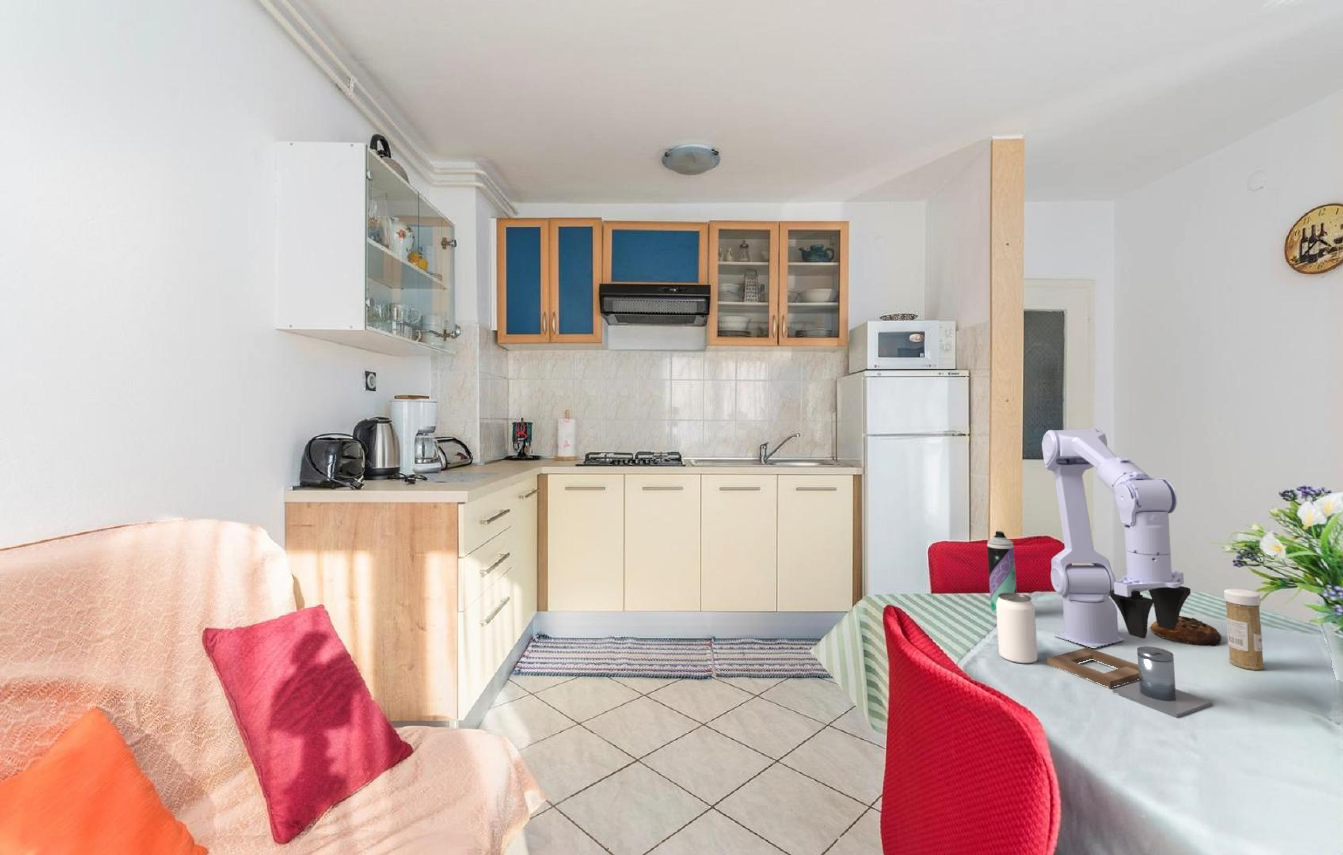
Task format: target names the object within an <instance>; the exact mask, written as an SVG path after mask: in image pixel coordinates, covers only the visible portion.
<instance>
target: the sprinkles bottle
mask: <svg viewBox="0 0 1343 855" xmlns="http://www.w3.org/2000/svg"><path fill="white" fill-rule="evenodd" d="M1223 592H1224V594H1223V595H1224V597H1223V598H1224V601H1225V603H1226V604H1225V606H1226V607H1225V608H1226V630H1227V631H1226V632H1227V643H1228V649H1229V659H1228V661H1229V663H1230V664H1231V665H1233V666H1235V667H1238V668H1242V669H1244V670H1245V669H1246V670H1252V671H1260V670H1264V669H1265V664H1264V657H1263V655H1264V654H1263V648H1264V647H1263V639H1262V638H1263V637H1262V625H1261V618H1260V616H1261V615H1260V605H1261V595H1260V594H1259V593H1258V592H1255V591H1252V590H1248V589H1247V590H1246V589H1241V588H1239V589H1238V588H1227V589H1224V591H1223Z"/></svg>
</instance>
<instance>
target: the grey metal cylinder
mask: <svg viewBox="0 0 1343 855" xmlns="http://www.w3.org/2000/svg"><path fill="white" fill-rule="evenodd" d="M1136 654H1137V664H1138V670H1139V680H1138V682H1139V685H1140V692H1141V693H1142V694H1143V695H1145V696H1147V697H1150V698H1153V699H1157V700H1162V701H1173V700H1175V699H1176V689H1177V688H1176V676H1175V658H1174V654H1173V652H1171V651H1169V650H1167V649H1164V648H1160V647H1155V646H1148V645H1147V646H1146V645H1145V646H1139V647H1137V648H1136Z"/></svg>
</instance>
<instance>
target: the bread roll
mask: <svg viewBox="0 0 1343 855" xmlns="http://www.w3.org/2000/svg"><path fill="white" fill-rule="evenodd" d="M1149 629H1150V630H1151V631H1152V632H1153V633H1154V634H1155V635H1156V634H1157V636H1158V637H1161V638H1162V637H1164V638H1163V639H1165V638H1166V639H1165V640H1171V641H1175V642H1178V643H1183V644H1188V645H1190V644H1191V645H1192V646H1201V647H1202V646H1206V647H1207V646H1208V647H1215V646H1219V645H1220V643H1221V641H1222V635H1221V633H1220V632H1219V631H1218V629H1216V628H1215V627H1214V626H1211V625H1210V624H1208V623H1204V622H1203V621H1201V620H1198V619H1197V618H1195V617H1188V616H1183V615H1182V616H1181V615H1179V617H1178V621H1177V625H1176V628H1175V630H1169V629H1166V628H1162V627H1159V626H1158V624H1157V620H1155V621H1153V622H1152V623H1151V626H1149Z"/></svg>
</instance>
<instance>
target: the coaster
mask: <svg viewBox="0 0 1343 855" xmlns="http://www.w3.org/2000/svg"><path fill="white" fill-rule="evenodd" d="M1113 692H1114V693H1113ZM1112 693H1113V694H1115V693H1118V694H1119V695H1118V694H1117V695H1118V696H1120V695H1121V697H1123V698H1125V697H1127V698H1126V699H1128V698H1129V699H1128V700H1131V701H1134V702H1136V701H1137V702H1136V703H1139V704H1141V705H1144V706H1147V707H1149V708H1151V709H1153V710H1156V711H1157V712H1161V713H1164V714H1166V715H1169V716H1171V717H1174V718H1176V719H1177V718H1179V717H1183V716H1186V715H1189V714H1191V713H1194V712H1197V711H1199V710H1201V709H1205V708H1208V707H1210V706H1213V701H1211V700H1208V699H1206V698H1203V697H1200V696H1197V695H1194V694H1191V693H1189V692H1185V691H1183V690H1180V689H1178V688H1176V699H1175V700H1173V701H1162V700H1157V699H1153V698H1150V697H1147V696H1145V695H1143V694H1142V693H1141V692H1140V685H1139V681H1134V682H1133V683H1132V682H1131V683H1128V684H1125V685H1122V686H1118V687H1115V688H1112Z"/></svg>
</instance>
